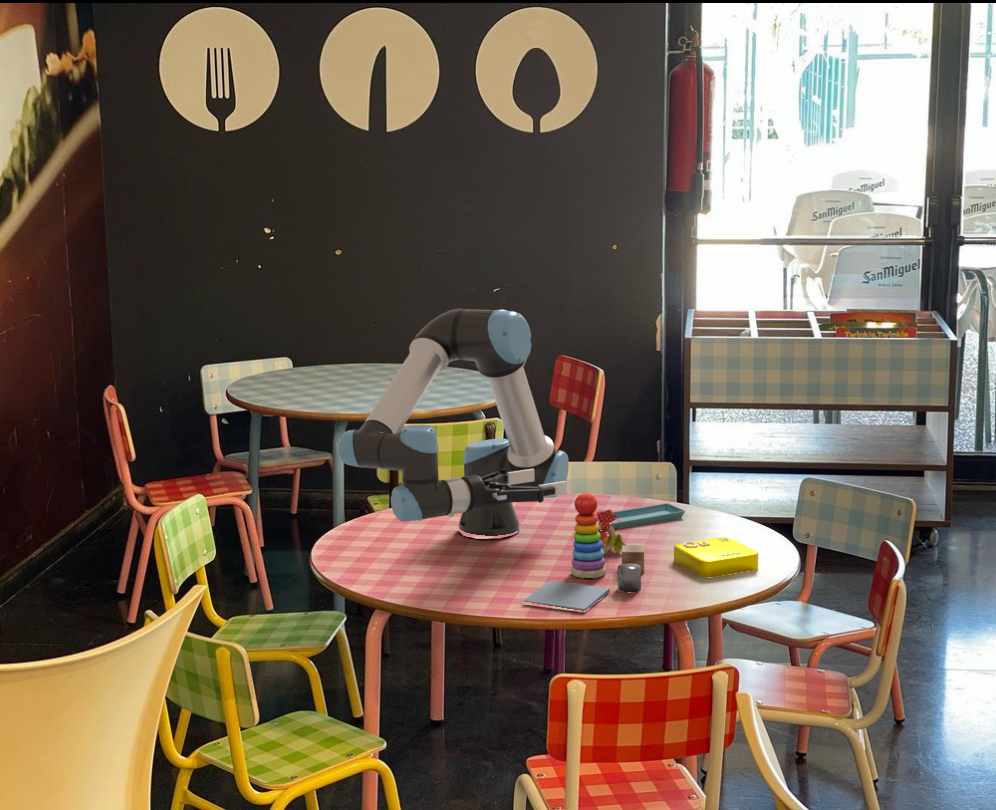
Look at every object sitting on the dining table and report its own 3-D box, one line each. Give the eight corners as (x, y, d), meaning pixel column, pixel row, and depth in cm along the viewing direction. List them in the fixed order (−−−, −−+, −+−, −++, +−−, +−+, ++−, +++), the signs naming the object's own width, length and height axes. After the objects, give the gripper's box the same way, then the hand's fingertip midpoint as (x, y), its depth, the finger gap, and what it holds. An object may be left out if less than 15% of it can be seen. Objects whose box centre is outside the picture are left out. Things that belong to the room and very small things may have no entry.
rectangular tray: (595, 534, 332) (595, 524, 331) (579, 525, 340) (578, 516, 340) (686, 520, 342) (686, 510, 342) (667, 511, 350) (667, 502, 350)
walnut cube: (621, 573, 300) (621, 551, 299) (622, 566, 305) (622, 545, 304) (644, 573, 300) (644, 552, 299) (644, 566, 305) (644, 545, 304)
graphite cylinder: (614, 591, 288) (614, 569, 287) (622, 584, 293) (622, 562, 292) (636, 594, 286) (636, 571, 285) (644, 587, 290) (644, 565, 289)
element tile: (703, 580, 295) (703, 560, 294) (670, 561, 308) (670, 542, 308) (761, 571, 300) (762, 550, 299) (726, 553, 314) (726, 533, 313)
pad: (523, 605, 281) (523, 600, 281) (550, 584, 293) (550, 580, 293) (584, 613, 275) (584, 609, 275) (609, 592, 287) (609, 588, 287)
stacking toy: (606, 568, 303) (605, 489, 300) (605, 580, 296) (605, 498, 292) (571, 568, 304) (570, 489, 301) (570, 579, 296) (568, 498, 293)
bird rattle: (607, 567, 311) (635, 545, 315) (591, 528, 307) (619, 507, 311) (591, 560, 317) (618, 539, 320) (575, 522, 312) (603, 501, 316)
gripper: (437, 499, 292) (521, 486, 302) (491, 525, 271) (580, 510, 281) (436, 466, 291) (520, 453, 301) (490, 489, 269) (579, 475, 279)
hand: (549, 480), depth 291 cm, fingers open, 13 cm apart
